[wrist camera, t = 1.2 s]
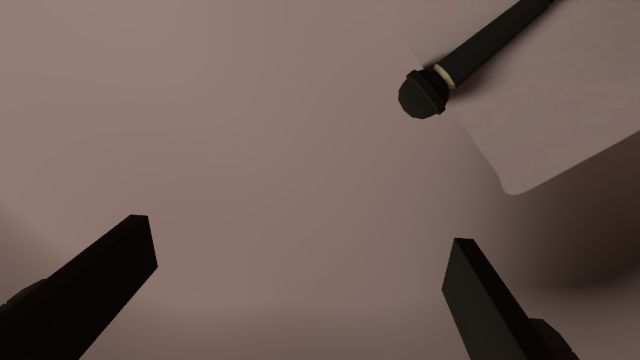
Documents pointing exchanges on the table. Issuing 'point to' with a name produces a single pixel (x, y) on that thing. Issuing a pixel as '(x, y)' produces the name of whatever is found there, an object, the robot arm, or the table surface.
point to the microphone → (465, 60)
